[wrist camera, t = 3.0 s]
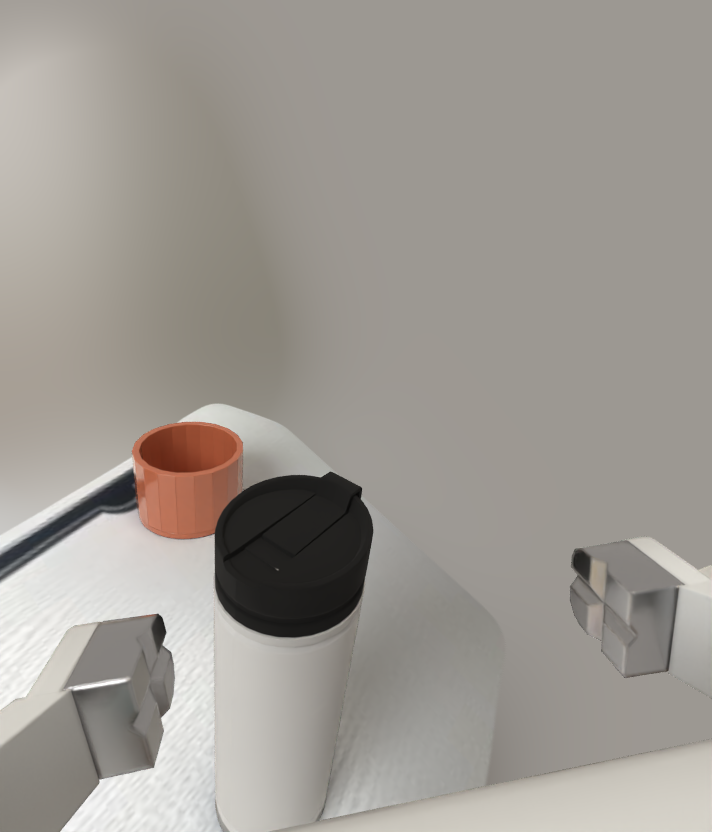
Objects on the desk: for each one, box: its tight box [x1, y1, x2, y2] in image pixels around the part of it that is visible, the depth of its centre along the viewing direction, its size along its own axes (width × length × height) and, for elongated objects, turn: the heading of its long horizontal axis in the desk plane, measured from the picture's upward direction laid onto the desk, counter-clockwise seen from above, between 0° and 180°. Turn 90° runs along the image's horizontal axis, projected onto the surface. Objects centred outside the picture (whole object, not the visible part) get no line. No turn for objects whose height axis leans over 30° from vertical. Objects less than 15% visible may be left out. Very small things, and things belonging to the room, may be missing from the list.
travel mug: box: [214, 472, 373, 832], centre depth 24 cm, size 6×7×20 cm
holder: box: [132, 422, 243, 539], centre depth 47 cm, size 10×10×7 cm
